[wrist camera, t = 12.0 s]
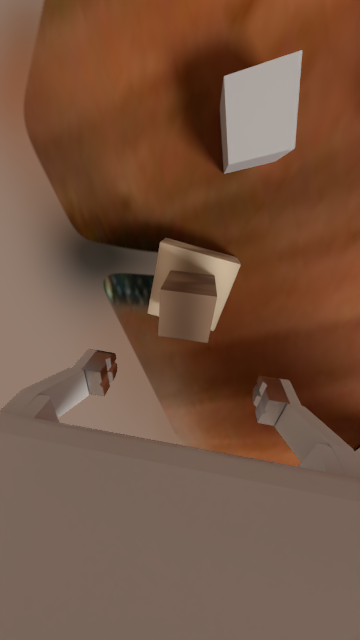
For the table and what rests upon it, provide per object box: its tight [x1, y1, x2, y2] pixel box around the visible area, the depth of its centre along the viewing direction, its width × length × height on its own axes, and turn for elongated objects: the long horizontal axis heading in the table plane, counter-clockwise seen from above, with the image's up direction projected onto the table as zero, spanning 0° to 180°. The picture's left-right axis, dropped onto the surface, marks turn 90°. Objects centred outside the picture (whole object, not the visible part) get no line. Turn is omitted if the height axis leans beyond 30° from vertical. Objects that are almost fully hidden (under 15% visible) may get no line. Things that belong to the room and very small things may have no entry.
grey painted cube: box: [220, 50, 302, 174], centre depth 16 cm, size 5×5×5 cm
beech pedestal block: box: [148, 238, 241, 331], centre depth 25 cm, size 9×9×4 cm
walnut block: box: [158, 270, 217, 343], centre depth 21 cm, size 5×5×6 cm
